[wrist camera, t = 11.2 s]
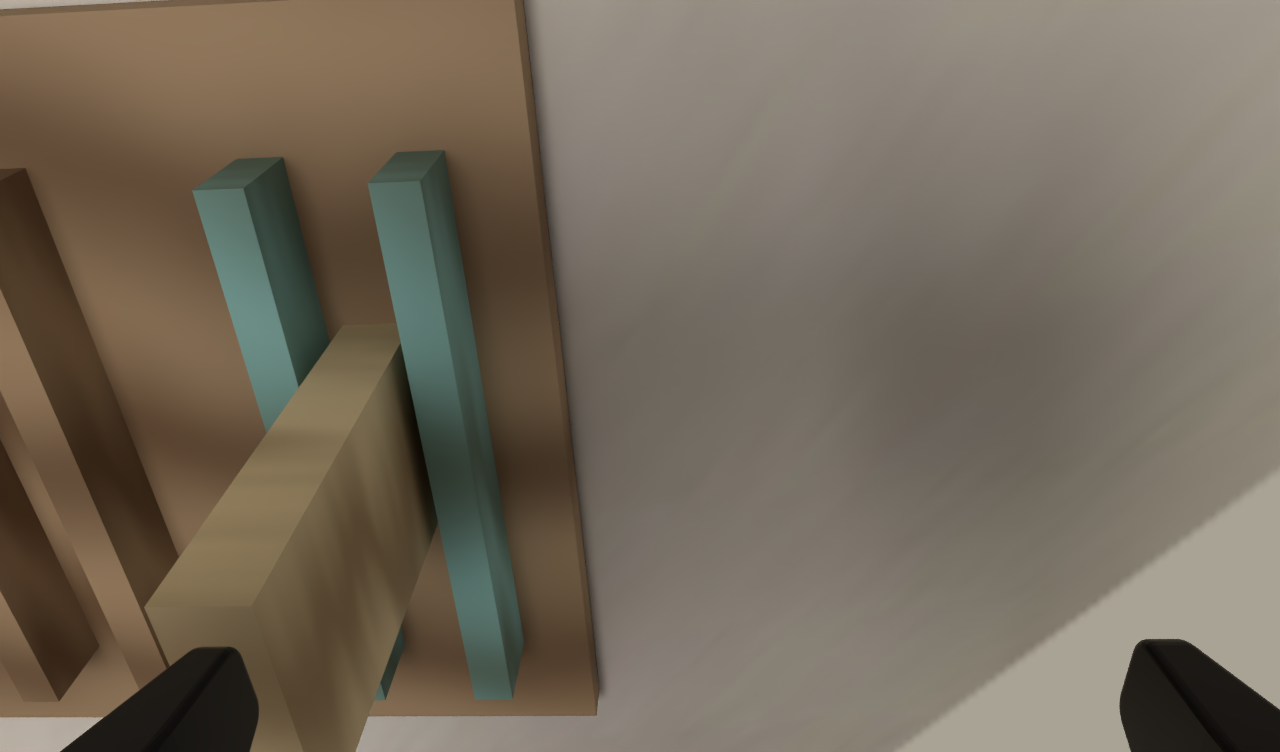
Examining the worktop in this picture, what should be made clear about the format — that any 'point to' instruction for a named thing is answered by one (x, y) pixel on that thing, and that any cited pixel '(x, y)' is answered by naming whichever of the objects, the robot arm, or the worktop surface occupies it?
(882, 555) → the worktop surface
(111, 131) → the rack
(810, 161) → the worktop surface
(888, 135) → the worktop surface
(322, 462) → the tan rectangular block
